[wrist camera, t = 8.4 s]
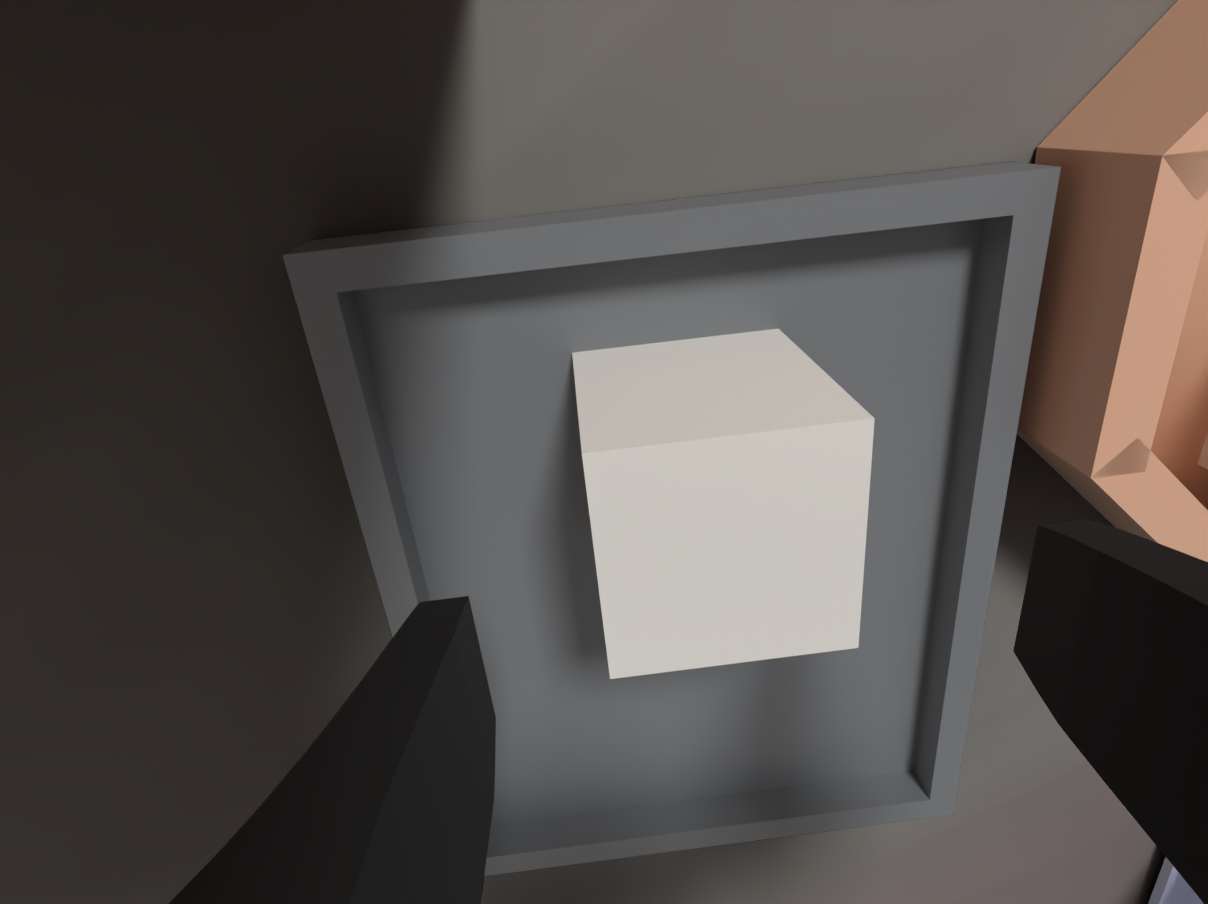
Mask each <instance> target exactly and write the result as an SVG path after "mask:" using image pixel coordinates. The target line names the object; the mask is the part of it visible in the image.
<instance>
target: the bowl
mask: <svg viewBox="0 0 1208 904" xmlns="http://www.w3.org/2000/svg"><path fill="white" fill-rule="evenodd" d="M1034 164H1038V165H1048V166H1058V167H1061V170H1060V176H1059V182H1058V188H1057V194H1056V200H1055V206H1054V212H1053V218H1052V224H1051V230H1050V236H1049V242H1048V248H1047V254H1046V260H1045V266H1044V272H1043V278H1042V284H1041V290H1040V296H1039V302H1038V308H1037V314H1036V320H1035V326H1034V332H1033V338H1032V344H1031V350H1030V356H1029V362H1028V368H1027V374H1026V380H1025V386H1024V392H1023V398H1022V404H1021V410H1020V416H1019V422H1018V428H1017V435H1018V436H1020V437H1021V438H1022V439H1023V440H1024V441H1025V442H1026V443H1027V444H1028V445H1029V446H1030V447H1031V448H1032V449H1033V450H1034V451H1035V452H1036V453H1037V454H1038V455H1040V456H1041V457H1042V458H1043V459H1044V460H1045V461H1046V462H1047V463H1048V464H1049V465H1050V466H1051V467H1052V468H1053V469H1054V470H1055V471H1056V472H1057V473H1058V474H1060V475H1061V476H1062V477H1063V478H1064V479H1065V480H1066V481H1067V482H1068V483H1069V484H1070V485H1071V486H1072V487H1073V488H1074V489H1075V490H1076V491H1077V492H1078V493H1080V494H1081V495H1082V496H1083V497H1084V498H1085V499H1086V500H1087V501H1088V502H1089V503H1090V504H1091V505H1092V506H1093V507H1094V508H1095V509H1096V510H1097V511H1098V512H1100V513H1101V514H1102V515H1103V516H1104V517H1105V518H1106V519H1107V520H1108V521H1109V522H1110V523H1111V524H1112V525H1113V526H1114V527H1115V528H1117V529H1120V530H1123V531H1126V532H1129V533H1132V534H1135V535H1137V536H1140V537H1143V538H1145V539H1148V540H1151V541H1154V542H1156V543H1159V544H1162V545H1164V546H1167V547H1170V548H1172V549H1175V550H1177V551H1180V552H1183V553H1185V554H1188V555H1190V556H1193V557H1196V558H1198V559H1201V560H1203V561H1206V562H1208V469H1206V468H1204V467H1202V466H1200V465H1198V461H1199V457H1200V454H1201V451H1202V448H1203V445H1204V441H1205V438H1206V435H1207V432H1208V0H1178V1H1177V2H1176V3H1175V4H1174V5H1173V6H1172V7H1171V8H1170V9H1169V10H1168V11H1167V12H1166V13H1165V14H1164V15H1163V17H1162V18H1161V19H1160V20H1159V21H1158V22H1157V23H1156V24H1155V25H1154V26H1153V27H1152V28H1151V29H1150V30H1149V31H1148V32H1147V33H1146V34H1145V35H1144V36H1143V37H1142V38H1141V39H1140V40H1139V42H1138V43H1137V44H1136V45H1135V46H1134V47H1133V48H1132V49H1131V50H1130V51H1129V52H1128V53H1127V54H1126V55H1125V56H1124V57H1123V58H1122V59H1121V60H1120V61H1119V62H1118V63H1117V64H1116V65H1115V67H1114V68H1113V69H1112V70H1111V71H1110V72H1109V73H1108V74H1107V75H1106V76H1105V77H1104V78H1103V79H1102V80H1101V81H1100V82H1099V83H1098V84H1097V85H1096V86H1095V87H1094V88H1093V89H1092V90H1091V92H1090V93H1089V94H1088V95H1087V96H1086V97H1085V98H1084V99H1083V100H1082V101H1081V102H1080V103H1079V104H1078V105H1077V106H1076V107H1075V108H1074V109H1073V110H1072V111H1071V112H1070V113H1069V114H1068V115H1067V117H1066V118H1065V119H1064V120H1063V121H1062V122H1061V123H1060V124H1059V125H1058V126H1057V127H1056V128H1055V129H1054V130H1053V131H1052V132H1051V133H1050V134H1049V135H1048V136H1047V137H1046V138H1045V139H1044V140H1043V142H1042V143H1041V144H1040V145H1039V146H1038V147H1037V150H1036V157H1035V163H1034Z"/></svg>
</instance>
